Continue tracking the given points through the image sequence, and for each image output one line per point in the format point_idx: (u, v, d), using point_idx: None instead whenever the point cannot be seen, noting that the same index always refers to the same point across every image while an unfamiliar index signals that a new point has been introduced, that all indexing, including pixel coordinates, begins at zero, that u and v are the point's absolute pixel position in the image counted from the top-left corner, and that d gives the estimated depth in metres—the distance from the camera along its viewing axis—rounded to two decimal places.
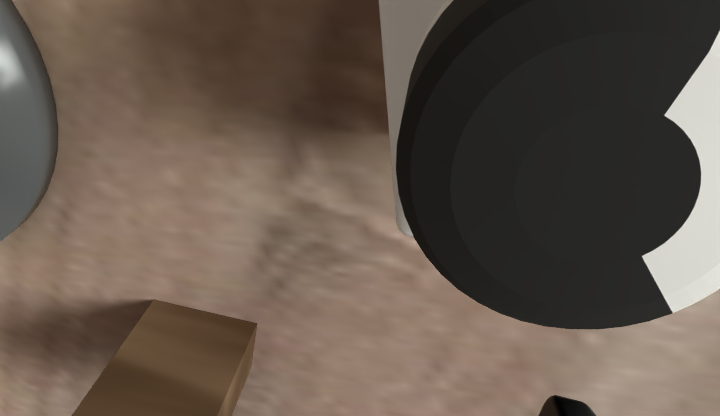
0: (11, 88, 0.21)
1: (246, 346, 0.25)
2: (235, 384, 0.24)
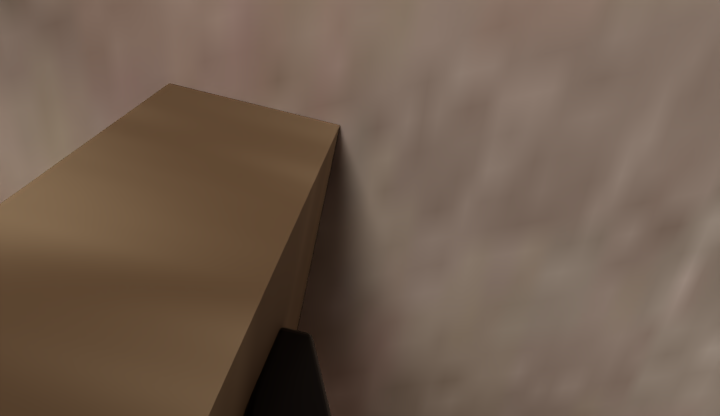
0: None
1: (121, 120, 0.07)
2: (136, 180, 0.06)
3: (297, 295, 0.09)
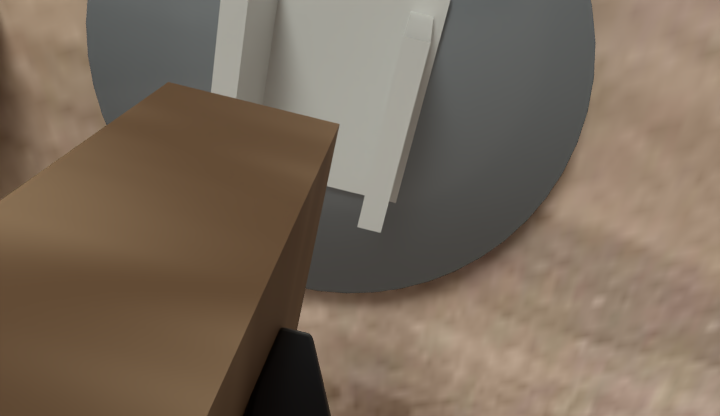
0: None
1: (119, 119, 0.07)
2: (134, 179, 0.06)
3: (297, 295, 0.09)
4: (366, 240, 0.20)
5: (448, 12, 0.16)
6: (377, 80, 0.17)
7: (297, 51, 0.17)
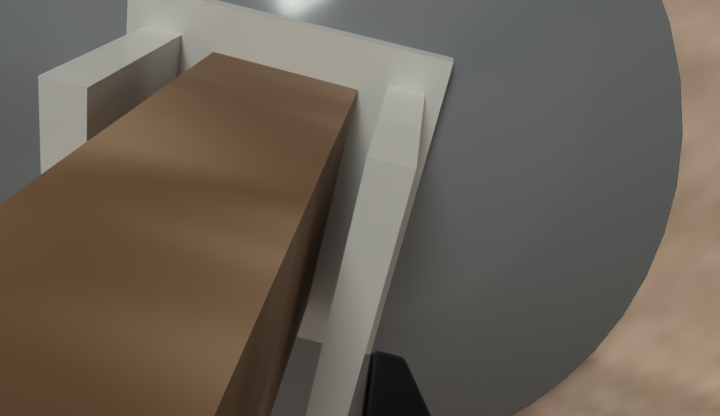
0: None
1: (179, 78, 0.09)
2: (200, 120, 0.08)
3: (319, 233, 0.10)
4: None
5: (448, 86, 0.10)
6: (338, 186, 0.11)
7: None
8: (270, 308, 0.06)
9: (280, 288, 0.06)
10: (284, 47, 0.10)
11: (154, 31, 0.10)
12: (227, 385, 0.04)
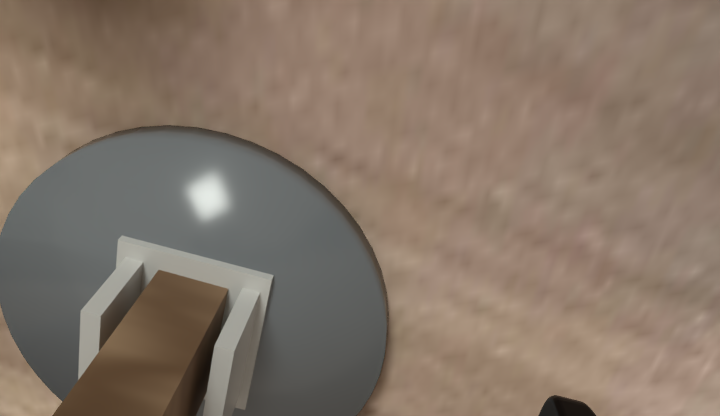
0: (157, 158, 0.20)
1: (140, 295, 0.20)
2: (147, 326, 0.19)
3: (209, 357, 0.21)
4: None
5: (272, 286, 0.21)
6: (222, 329, 0.22)
7: None
8: None
9: (171, 407, 0.17)
10: (192, 269, 0.21)
11: (130, 262, 0.21)
12: None
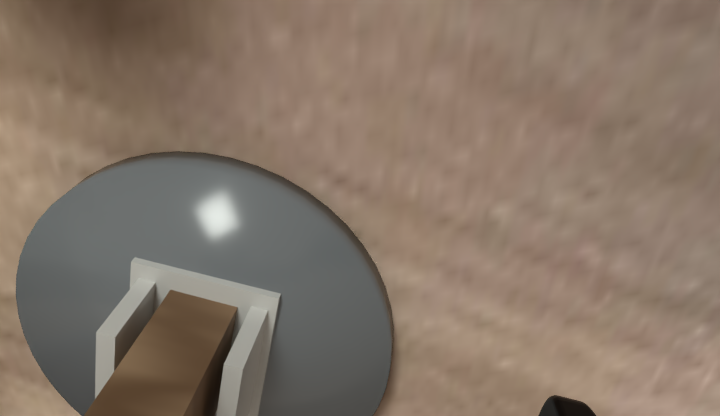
0: (166, 184, 0.20)
1: (153, 315, 0.21)
2: (160, 346, 0.20)
3: (220, 374, 0.22)
4: None
5: (280, 304, 0.22)
6: (232, 346, 0.23)
7: None
8: None
9: None
10: (202, 289, 0.22)
11: (143, 283, 0.22)
12: None
